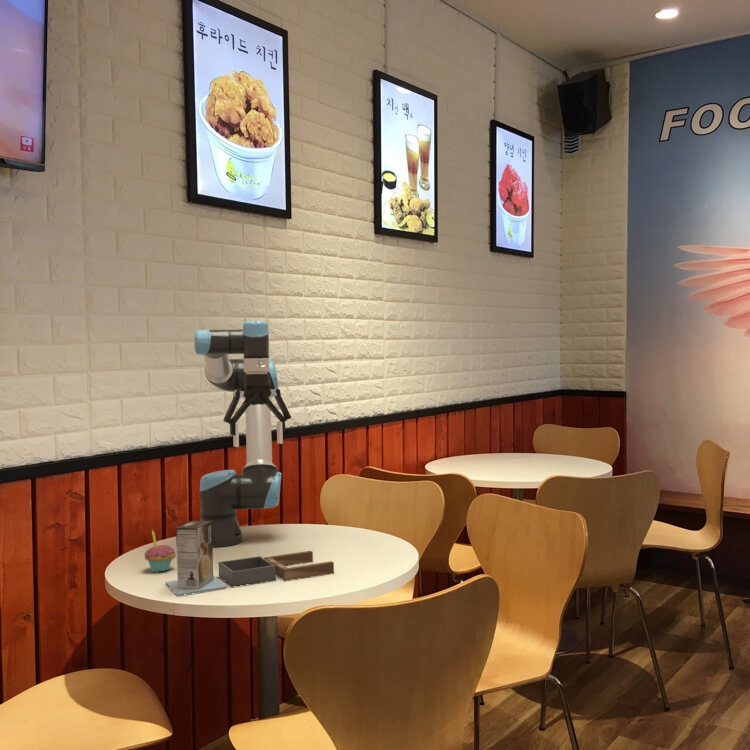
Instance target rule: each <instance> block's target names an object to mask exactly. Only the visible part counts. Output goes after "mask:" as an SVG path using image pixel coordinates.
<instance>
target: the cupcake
mask: <svg viewBox="0 0 750 750" xmlns="http://www.w3.org/2000/svg"><path fill="white" fill-rule="evenodd" d="M151 536H152V540H153V545H154V546H152V547H149V548H148V549H147V550H146V551H145V553H144V560H146V561H148V564H149V567H150V570H151V571H152V570H153V571H165V570H167V571H169V570H170V566H171V562H172V560H174V558H176V557H177V553H176V551H175V549H174V548H173V547H171V546H170V545H168V544H167V545H165V544H158V545H157V540H156V534H155V531H154V529H151ZM168 569H169V570H168ZM153 571H152V572H153ZM165 572H166V571H165Z"/></svg>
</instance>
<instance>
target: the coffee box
mask: <svg viewBox="0 0 750 750" xmlns="http://www.w3.org/2000/svg"><path fill="white" fill-rule="evenodd" d="M175 540H176V567H177V570H176V572H177V580H178V588H187V589H200V588H201V587H203V586H204V585H206V584H207V583H209V582H210V581H212V580H213V576H214V556H213V555H214V554H213V551H214V549H213V548H214V547H212V521H201V520H190V521H188V522H186V523H184V524H182V525H179V526H176V527H175Z"/></svg>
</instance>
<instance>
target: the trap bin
mask: <svg viewBox="0 0 750 750" xmlns="http://www.w3.org/2000/svg"><path fill="white" fill-rule="evenodd" d="M217 564H218V565H217V566H218V577H219V576H220V577H221V578H222V579H221V578H220V577H219V578H220V579H221V580H223V581H224V580H225V581H226V582H227V583H226V582H225V581H224V582H225V583H226V584H228V585H229V584H230V585H231V586H230V585H229V586H230V587H231V588H234V587H233V586H237V587H241V586H240V585H243V586H247V585H246V584H250V585H255V584H254V583H256V584H261V583H260V582H262V583H267V582H266V581H268V582H273V581H272V580H275V581H277V576H276V566H275V565H274V564H272V563H270V562H269V561H267V560H266V559H264V557H262V556H253V557H251V556H250V557H246V558H240V559H231V560H224V561H218V563H217Z"/></svg>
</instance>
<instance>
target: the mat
mask: <svg viewBox="0 0 750 750" xmlns="http://www.w3.org/2000/svg"><path fill="white" fill-rule="evenodd" d="M165 583H166V584H167V585H168V586H169V587H170V588H171V589H172V590H173V591H174V592H175V593H174V592H173V591H172V590H171V589H170V588H169V587H168V586H167V585H166V584H165V585H166V586H167V587H168V588H169V589H170V590H171V591H172V592H173V593H174V595H176V597H179V596H178V595H183V596H185V595H184V594H189V595H193V594H192V593H196V594H199V593H198V592H202V593H206V592H205V591H208V592H212V591H211V590H215V591H218V590H217V589H221V590H224V589H223V588H227V589H228V586H227V584H225V583H224V582H222V581H221V580H220V579H218V578H217V577H216V576H215V575H213V580H212V581H210V582H209V583H207V584H206V585H204V586H203V587H201V588H200V589H187V588H178V579H175V580H169V581H165Z"/></svg>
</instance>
